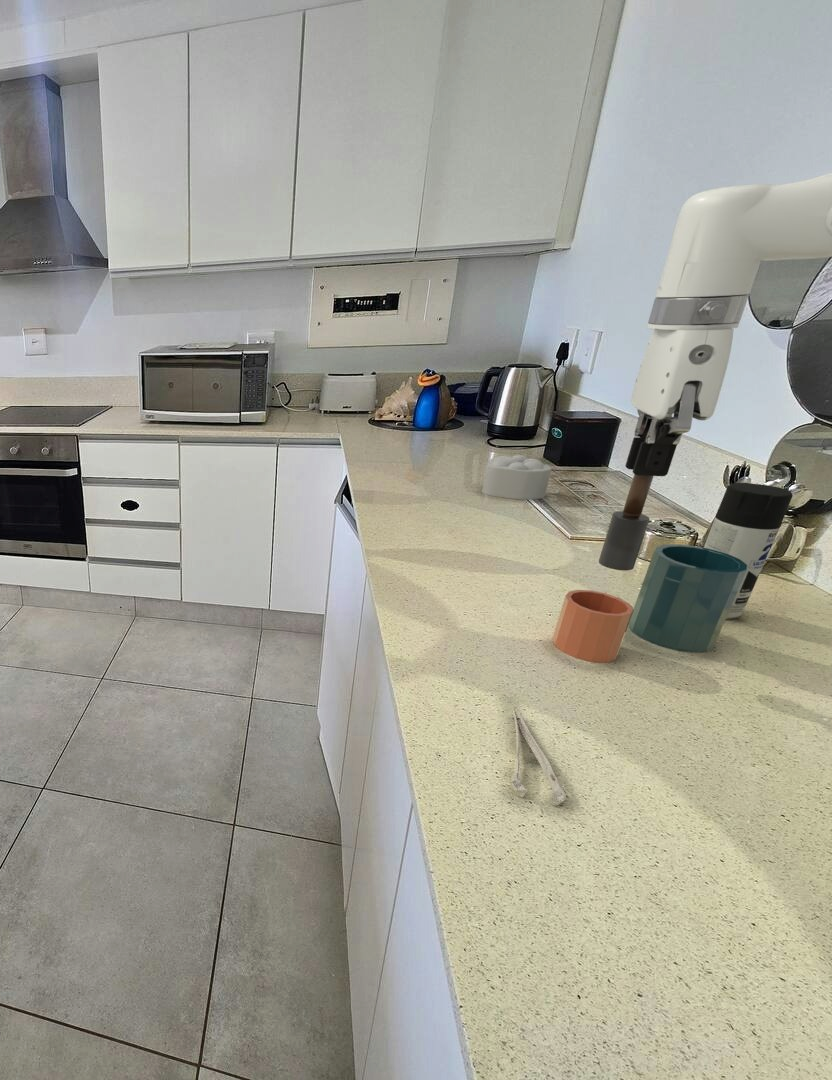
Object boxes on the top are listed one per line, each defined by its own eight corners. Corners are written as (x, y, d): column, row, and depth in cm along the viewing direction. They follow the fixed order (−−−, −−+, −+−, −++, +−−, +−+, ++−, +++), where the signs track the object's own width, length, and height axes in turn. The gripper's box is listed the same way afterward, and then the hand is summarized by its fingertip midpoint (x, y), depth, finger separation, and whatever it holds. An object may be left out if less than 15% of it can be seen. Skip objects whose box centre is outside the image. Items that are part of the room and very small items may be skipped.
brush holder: (605, 642, 84) (622, 594, 81) (623, 670, 78) (641, 619, 75) (546, 633, 87) (560, 586, 84) (558, 660, 81) (574, 610, 77)
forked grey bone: (565, 809, 58) (570, 793, 57) (509, 795, 60) (513, 779, 59) (531, 711, 73) (534, 698, 72) (487, 703, 75) (490, 690, 74)
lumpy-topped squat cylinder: (484, 483, 151) (491, 451, 148) (544, 490, 144) (553, 456, 141) (480, 494, 143) (488, 460, 140) (544, 502, 136) (553, 467, 133)
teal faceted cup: (694, 627, 86) (727, 548, 81) (724, 661, 79) (762, 576, 74) (618, 617, 90) (644, 541, 85) (639, 648, 82) (670, 566, 77)
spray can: (738, 625, 86) (795, 499, 79) (677, 609, 91) (725, 489, 83) (742, 609, 90) (797, 488, 83) (684, 594, 95) (730, 478, 87)
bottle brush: (628, 561, 77) (671, 425, 70) (637, 572, 74) (684, 431, 67) (594, 557, 79) (634, 424, 72) (603, 568, 76) (645, 430, 69)
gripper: (780, 316, 57) (714, 494, 64) (706, 309, 70) (658, 457, 77) (681, 319, 59) (629, 489, 67) (628, 312, 73) (589, 454, 80)
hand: (645, 471), depth 72 cm, fingers closed on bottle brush
